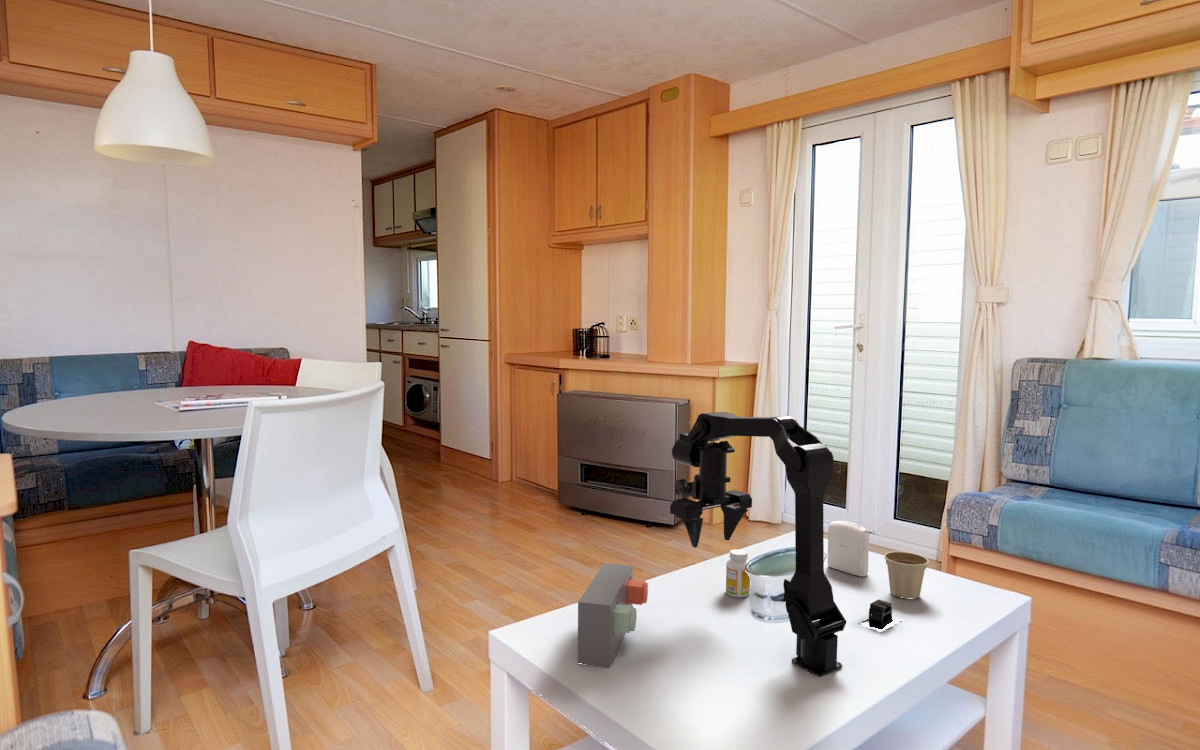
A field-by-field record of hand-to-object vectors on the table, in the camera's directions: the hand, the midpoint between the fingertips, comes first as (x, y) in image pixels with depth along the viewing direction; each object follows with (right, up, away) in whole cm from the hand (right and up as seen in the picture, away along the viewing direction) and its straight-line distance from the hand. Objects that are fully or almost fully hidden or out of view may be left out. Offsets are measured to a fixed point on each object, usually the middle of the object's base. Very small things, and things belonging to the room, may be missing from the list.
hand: (711, 543), depth 149 cm
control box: (-22, -16, -13) cm, 30 cm away
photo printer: (+38, -13, +26) cm, 48 cm away
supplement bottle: (+8, -14, +11) cm, 19 cm away
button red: (-17, -10, -9) cm, 21 cm away
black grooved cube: (+35, -16, -4) cm, 38 cm away
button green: (-20, -11, -21) cm, 31 cm away
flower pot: (+46, -15, +11) cm, 50 cm away
